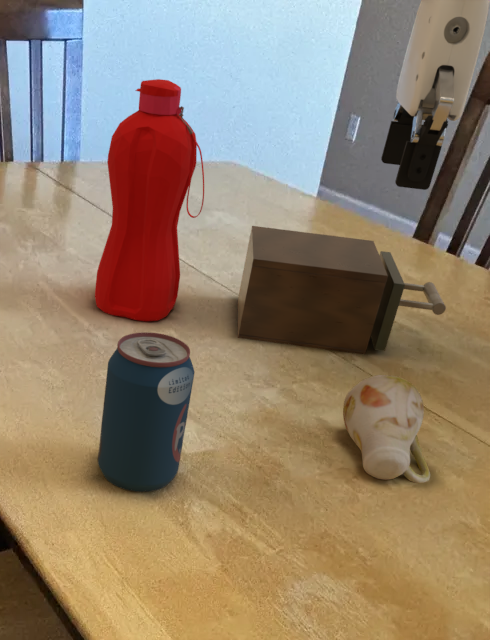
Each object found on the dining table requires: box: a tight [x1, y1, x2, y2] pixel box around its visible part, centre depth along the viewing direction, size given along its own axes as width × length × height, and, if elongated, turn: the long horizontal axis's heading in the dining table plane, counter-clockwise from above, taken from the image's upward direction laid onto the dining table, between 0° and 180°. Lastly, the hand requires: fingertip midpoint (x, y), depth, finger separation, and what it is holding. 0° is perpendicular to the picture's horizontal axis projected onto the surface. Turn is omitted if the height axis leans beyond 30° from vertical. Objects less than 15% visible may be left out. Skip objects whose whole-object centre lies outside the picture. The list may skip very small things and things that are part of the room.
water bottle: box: [94, 78, 205, 323], centre depth 99 cm, size 9×11×25 cm
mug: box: [342, 374, 431, 484], centre depth 80 cm, size 8×10×10 cm
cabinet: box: [237, 225, 388, 356], centre depth 103 cm, size 15×13×10 cm
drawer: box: [370, 250, 447, 352], centre depth 102 cm, size 19×11×8 cm, turn 82°
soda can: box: [97, 331, 195, 493], centre depth 72 cm, size 7×7×12 cm
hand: (403, 175), depth 88 cm, fingers open, 9 cm apart
